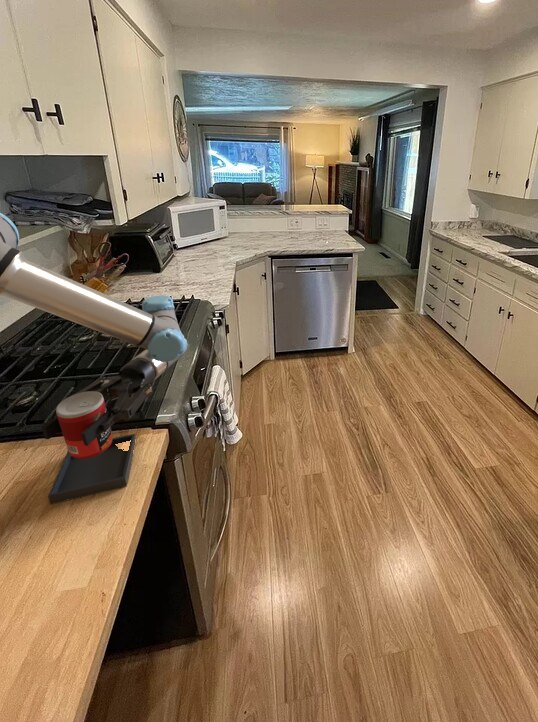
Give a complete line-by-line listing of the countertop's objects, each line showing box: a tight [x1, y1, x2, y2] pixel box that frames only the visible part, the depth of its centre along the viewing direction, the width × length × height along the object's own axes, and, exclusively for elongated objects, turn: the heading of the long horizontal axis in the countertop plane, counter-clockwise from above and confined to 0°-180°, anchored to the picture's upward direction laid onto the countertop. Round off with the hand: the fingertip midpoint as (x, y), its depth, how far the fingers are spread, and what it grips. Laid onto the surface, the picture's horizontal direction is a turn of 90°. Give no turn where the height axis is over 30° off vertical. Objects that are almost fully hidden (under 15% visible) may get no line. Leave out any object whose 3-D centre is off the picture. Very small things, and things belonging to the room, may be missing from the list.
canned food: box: [55, 391, 114, 459], centre depth 72 cm, size 8×8×11 cm
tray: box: [47, 433, 137, 505], centre depth 76 cm, size 13×13×2 cm
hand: (64, 436), depth 68 cm, fingers closed on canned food, 8 cm apart
